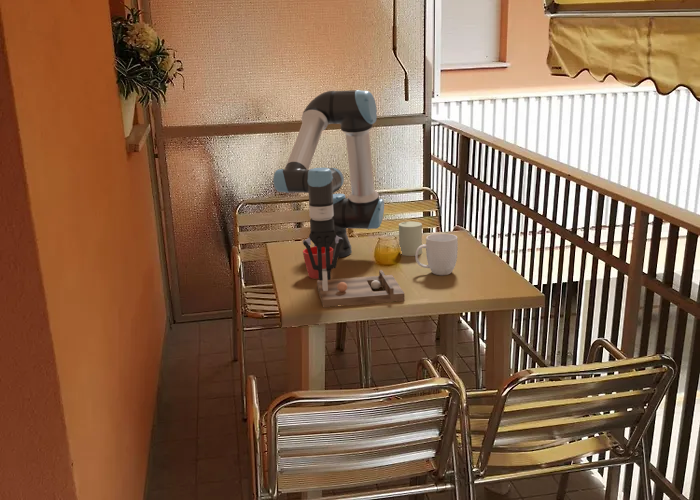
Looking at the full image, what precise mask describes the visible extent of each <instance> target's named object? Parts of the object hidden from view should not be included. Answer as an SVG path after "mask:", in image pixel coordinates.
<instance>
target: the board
mask: <svg viewBox="0 0 700 500" xmlns="http://www.w3.org/2000/svg"><path fill="white" fill-rule="evenodd" d="M378 272H379V273H378V275H372V276H359V277H347V278H335V279H334V278H333V279H332V278H331V279H330V280H327V281H328V291H323V288H322V280H321V281H320V280H319V279H317V280H316V289H317V291H318V294H319V298H320V301H321V304H322V308H331V307H330V306H335V307H339V306H338V305H341V306H340V307H343V306H342V305H347V306H357V305H369V304H370V305H371V303H372V304H380V303H381V304H383V303H393V302H392V301H396V302H405V301H406V300H405V292H404V291H403V289H402V288H401V286H400V284H399V283H398V281H397V280H396V278H395V277H394V276H393V274H387V275H386V274H385V272H384V271H383V269H380V270H378ZM374 280H378V281H379V282H380V284H381V286H380V287H381V288H382V290H379V291H376V290H375V291H373V290H372V289H373V288H372V287H371V283H372V281H374ZM340 282H345V283H346V284H347V289H346V291H344V292H340V291H339V290H338V288H337V286H338V284H339V283H340Z"/></svg>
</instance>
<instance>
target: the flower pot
mask: <svg viewBox="0 0 700 500" xmlns="http://www.w3.org/2000/svg"><path fill="white" fill-rule="evenodd" d="M310 248H311V251H312V254H313V257H314V261H315V264H316V265H318V258H317V246H316V247H314V246H310ZM302 254H303V259H304V263H305V268H306V270H307V274H308V277H309V279H313V280H319V276H318V270H314V269H313V267H312V264H311V261H310V257H309V254H308V251H307V248H306V247H305V248H304V249H303V251H302ZM332 259H333V248H331V247H330V264H332ZM322 269H326V256H325V247H322Z"/></svg>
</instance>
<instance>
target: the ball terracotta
mask: <svg viewBox="0 0 700 500" xmlns="http://www.w3.org/2000/svg"><path fill="white" fill-rule="evenodd" d="M337 288H338V290H339V291H340V292H344V291H346V289H347V284H346V283H345V282H340V283H339V284H338V286H337Z"/></svg>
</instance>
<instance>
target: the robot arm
mask: <svg viewBox="0 0 700 500" xmlns="http://www.w3.org/2000/svg"><path fill="white" fill-rule="evenodd" d="M377 118H378V114H377V104H376V100H375V97H374V95H373V94H372V93H371V91H368V90H362V89H361V90H360V89H353V90H327V91H324V92H322V93H320V94H319V95H317V96H316V97H314V98H313V99H312V100H311V101H310V102H309V104H307V106H306V107H305V108H304V110H303V112H302V116H301V123H302V124H301V125H300V129H299V131H298V133H297V136H296V139H295V142H294V144H293V147H292V149H291V152H290V154H289V157H288V159H287V163H286V165H285V167H284V168H281V169H277V170H275V171H274V174H273V179H272V180H273V186H274V189H275V190H276V191H277V192H279V193H287V194H289V193H294V194H296V193H297V194H299V193H301V194H302V193H303V194H305V193H307V194H308V207H309V208H308V210H309V211H308V212H309V218H310V219H309V226H310V228H309V229H310V230H309V231H310V233H309V236H308V237H307V238H306V239H303V240H302V244H303V246H304V247H305V249H306V248H307V251H308V254H309V257H310V261H311V264H312V267H313V269H314V270H318V276H319V279H318V280H320V281H321V280H322V288H323V291H328V281H327V280H331V279H332V276H331V272H332V270H333V269H336V268H337V264H338V259H339V258H344V257H347V256H349V255H351V254H352V253H353V252H352V245H351V242H350V239H349V237H348V234H347V229H357V230H358V229H359V230H360V229H362V230H373V229H375V230H377V229H379V228H380V227H381V225H382V222H383V218H384V213H385V212H384V211H385V200H384V199H383V198H380V195H379V192H378V191H377V190H375V187H374V185H375V184H374V174H373V163H372V151H371V140H370V131H371V130H372V129H373V125H374V124H375V123H376V122H377ZM331 124H333V125H335V124H336V125H340V131H342V133H344V134H345V143H346V151H347V160H348V170H349V179H350V190H351V192H350V193H349V194H348V196H347V197H348V198H347V197H346V194H345V193H336V192H337V191H339V190H340V189H341V187H343V185H344V182H345V178H344V174H343V173H342V171H341V170H340V169H339V168H336V167H330V168H329V167H314V168H310V166H311V164H312V161H313V158H314V156H315V153H316V149H317V147H318V144H319V141H320V138H321V136H322V133H323V131H325V130H326V129H327V127H328V125H331ZM312 244H313V247H316V246H317V258H318V265H316V264H315V261H314V257H313V254H312V251H311V248H310V247H311V245H312ZM322 247H325V256H326V269H322ZM330 247H331V248H333V259H332V264H330Z"/></svg>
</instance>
